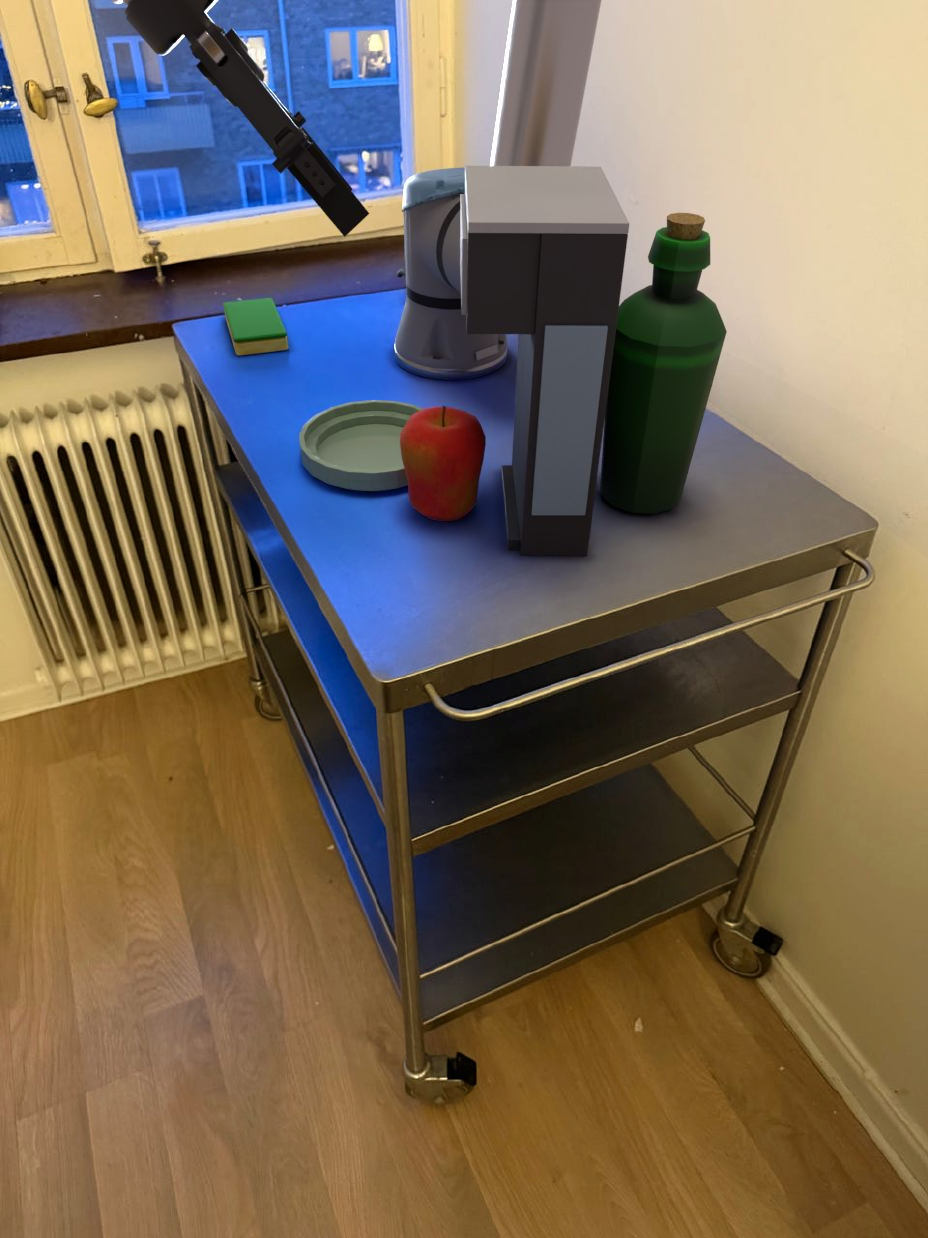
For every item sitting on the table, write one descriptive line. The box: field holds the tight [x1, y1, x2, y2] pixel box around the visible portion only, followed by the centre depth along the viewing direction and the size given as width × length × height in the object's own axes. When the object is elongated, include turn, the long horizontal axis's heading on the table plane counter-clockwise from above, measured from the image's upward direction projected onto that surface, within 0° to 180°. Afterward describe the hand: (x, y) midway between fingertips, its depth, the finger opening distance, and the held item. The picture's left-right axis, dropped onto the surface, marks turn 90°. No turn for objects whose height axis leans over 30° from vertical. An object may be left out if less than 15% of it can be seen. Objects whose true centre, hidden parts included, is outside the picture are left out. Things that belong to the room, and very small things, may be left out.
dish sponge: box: [222, 297, 289, 356], centre depth 124 cm, size 7×14×2 cm, turn 18°
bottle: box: [600, 212, 728, 515], centre depth 85 cm, size 11×11×28 cm
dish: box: [298, 399, 424, 492], centre depth 98 cm, size 16×16×3 cm
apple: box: [400, 405, 487, 522], centre depth 87 cm, size 9×8×12 cm
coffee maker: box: [460, 165, 630, 557], centre depth 81 cm, size 12×16×31 cm
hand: (348, 211), depth 77 cm, fingers open, 13 cm apart
